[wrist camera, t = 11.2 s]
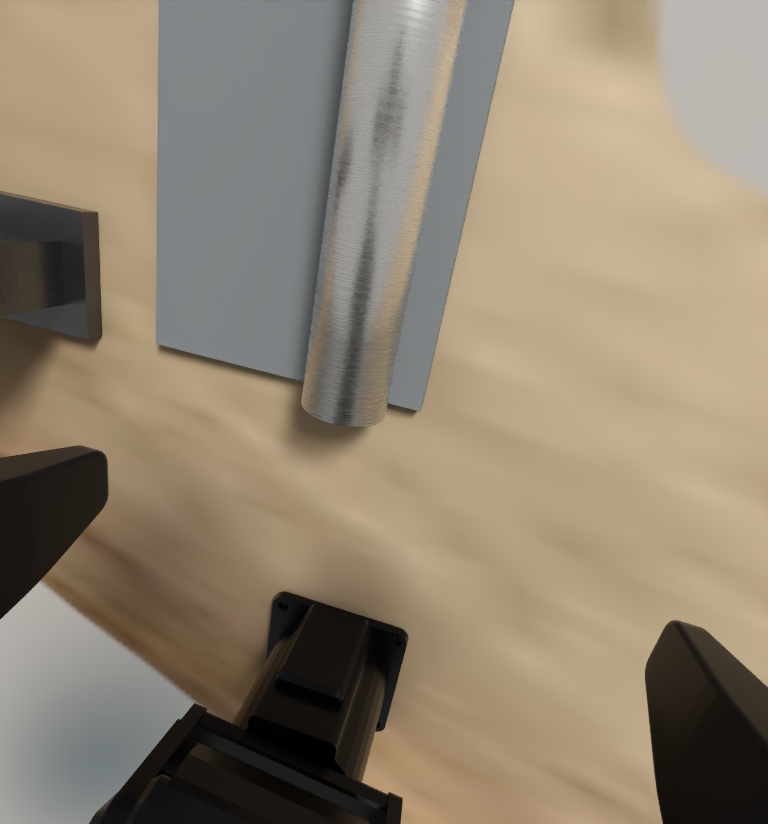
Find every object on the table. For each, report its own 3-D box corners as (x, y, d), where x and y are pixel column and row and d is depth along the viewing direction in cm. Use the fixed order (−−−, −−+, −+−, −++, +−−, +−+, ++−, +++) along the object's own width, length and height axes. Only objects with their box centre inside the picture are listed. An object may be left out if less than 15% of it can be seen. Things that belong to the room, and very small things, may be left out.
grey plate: (422, 406, 20) (419, 411, 19) (165, 340, 21) (156, 344, 21) (664, -659, 11) (672, -707, 10) (180, -638, 12) (164, -679, 12)
